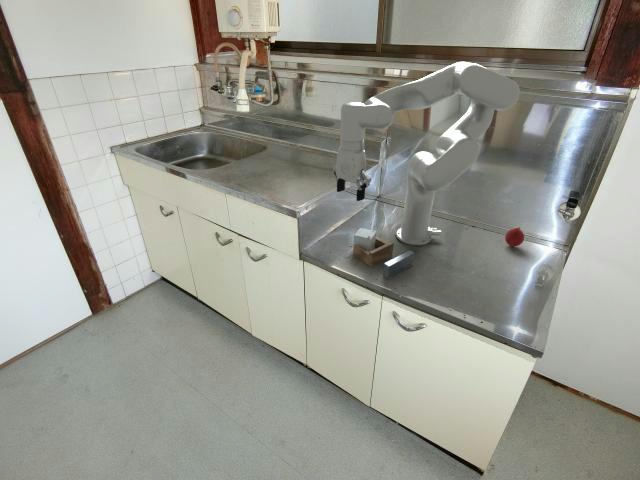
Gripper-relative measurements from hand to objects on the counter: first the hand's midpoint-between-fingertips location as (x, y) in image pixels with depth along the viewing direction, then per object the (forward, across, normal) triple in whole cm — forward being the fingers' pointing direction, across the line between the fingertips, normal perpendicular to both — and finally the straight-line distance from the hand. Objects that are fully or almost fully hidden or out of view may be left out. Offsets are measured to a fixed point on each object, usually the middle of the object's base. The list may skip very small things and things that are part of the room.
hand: (350, 195), depth 121 cm
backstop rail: (+18, +23, 0) cm, 30 cm away
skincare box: (+18, +8, 0) cm, 20 cm away
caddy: (+18, +12, 0) cm, 22 cm away
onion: (+19, +38, +43) cm, 61 cm away
